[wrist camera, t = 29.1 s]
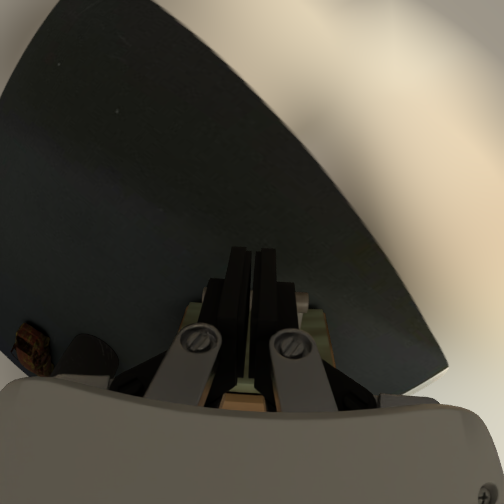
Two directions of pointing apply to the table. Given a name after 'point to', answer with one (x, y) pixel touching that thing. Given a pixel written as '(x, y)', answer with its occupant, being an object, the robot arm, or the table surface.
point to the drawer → (307, 322)
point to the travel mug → (87, 358)
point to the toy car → (33, 350)
